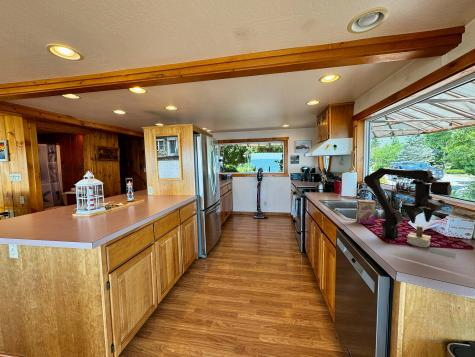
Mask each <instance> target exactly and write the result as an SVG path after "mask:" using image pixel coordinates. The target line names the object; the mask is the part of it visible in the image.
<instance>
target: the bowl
mask: <svg viewBox="0 0 475 357" xmlns="http://www.w3.org/2000/svg"><path fill="white" fill-rule="evenodd" d="M407 242H408V243H409V244H410V245H412V246H416V247H420V248H429V247H430V245H431V240H430V241H429V242H426V241H421V240H417V239H412V238H408V240H407Z"/></svg>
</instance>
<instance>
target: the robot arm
mask: <svg viewBox="0 0 475 357" xmlns="http://www.w3.org/2000/svg"><path fill="white" fill-rule="evenodd" d="M385 175H387V176H398V177H405V178H410V179H412V180H413V181H411V182H410V183H409V184H410V185H415V186H414V194H412V196H411V197H414V201H412V202H411V203H403V204H401V210H403V212H405V213H406V215H407V216H408V218H409V219H410V222H411V223H412V224H415V223H416V218H417V214H419V213H420V211H419V210H420V209H422V211H423V214H424V219H425V222H426V223H429V222H430V221H431V219H432V217H433V215H434V214H435V213H436V212H439V211H442V208H444V207H446V206H445V205H446V203H445V200H443V199H438V200H437V199H433V196H432V195H436V196H444V197H445V196H446V197H450V196H452V191H453V188H452V184H451V181H438V180H437V179H436V178H435V177H434V176H433V172H432V171H431V170H430V169H426V168H423V169H422V168H421V169H420V168H419V169H403V168H402V169H400V168H393V167H392V168H391V167H380V168H378V169H376V170H375V171H373V172H372V173H370V174H368V175H365V176H364V177H363V182H364V184H366V186H367V187H368V188H369V189H370V190H372V192H373V194H374V196H375V198H376V199H377V202H378V203H379V205H380V207H381V209H382V210H383V212H384V213H383V214H384V219H385V220H384V221H382V222H381V227H382V232H381V233H380V236H383V237H384V238H386V239H390V240H391V239H399V229H398V227H399V225H401V224H402V223H403V221H404V219H403V218H404V216H402V214H401V211H400V210H395V209H394V207H393V206H392V204H391V202H390V201H389V199H388V197H387V195H386V194H385V192H384V190H383V189H382V187H381V179H382V178H383V177H384V176H385ZM430 193H432V195H431V194H430Z"/></svg>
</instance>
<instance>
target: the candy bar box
mask: <svg viewBox="0 0 475 357" xmlns="http://www.w3.org/2000/svg"><path fill="white" fill-rule="evenodd" d="M376 210H377V201H376V200H367V199H366V200H365V199H357V200H356V213H355V215H356V216H355V222H356V223H357V224H363V225H364V224H365V225H373V224H375V225H376Z"/></svg>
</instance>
